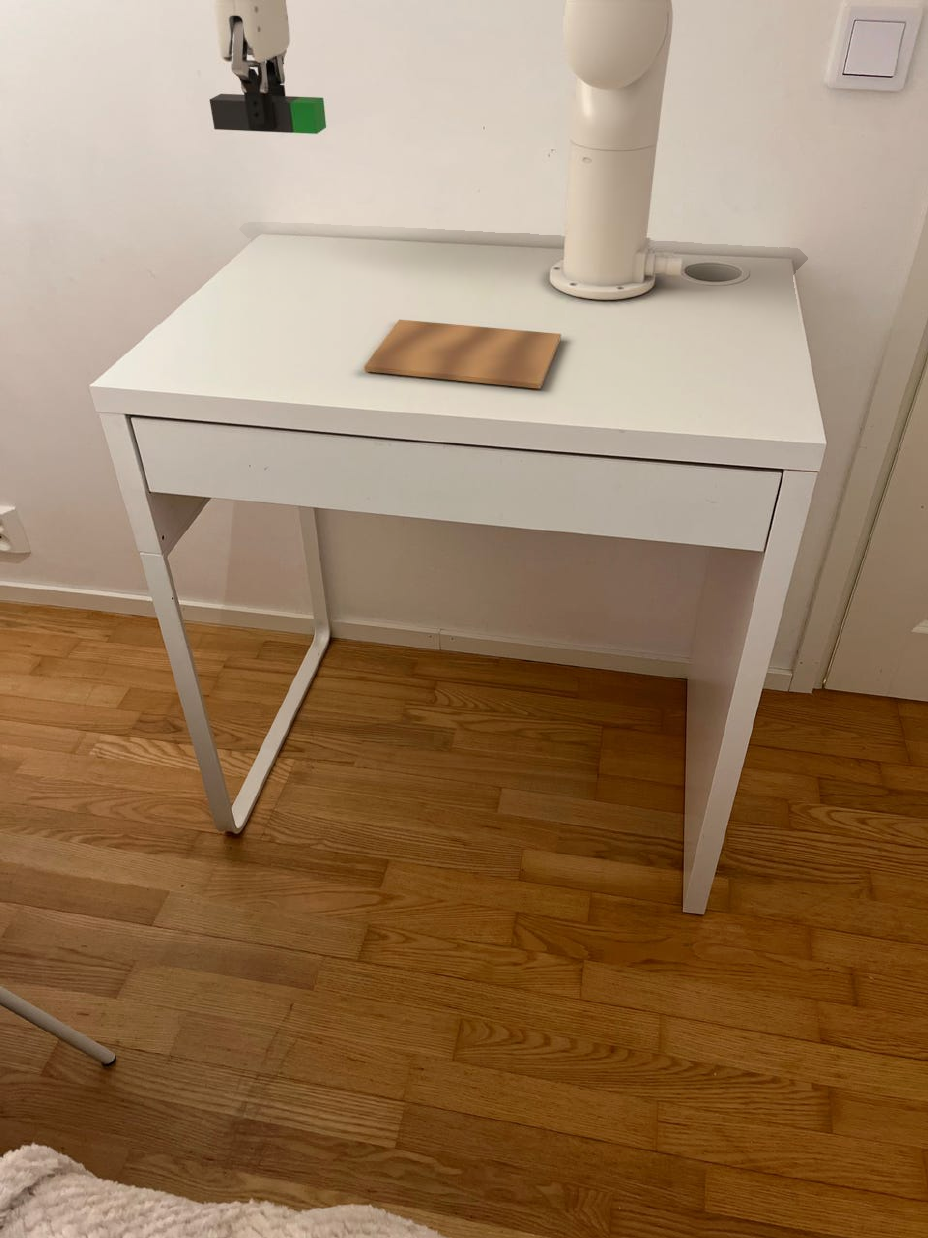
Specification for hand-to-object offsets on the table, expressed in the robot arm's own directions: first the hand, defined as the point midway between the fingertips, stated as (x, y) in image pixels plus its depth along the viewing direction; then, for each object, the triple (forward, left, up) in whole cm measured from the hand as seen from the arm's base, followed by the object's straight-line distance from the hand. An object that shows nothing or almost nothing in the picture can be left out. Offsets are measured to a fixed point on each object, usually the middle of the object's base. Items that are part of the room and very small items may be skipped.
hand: (269, 124), depth 111 cm
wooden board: (-30, +24, -15) cm, 42 cm away
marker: (0, 0, 0) cm, 0 cm away
